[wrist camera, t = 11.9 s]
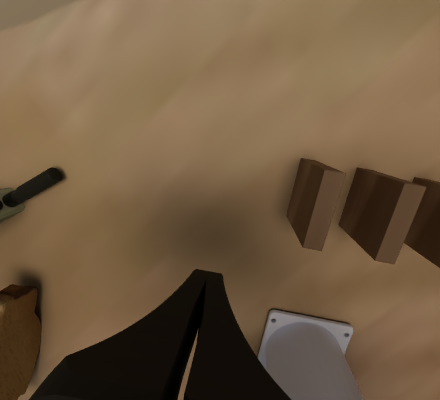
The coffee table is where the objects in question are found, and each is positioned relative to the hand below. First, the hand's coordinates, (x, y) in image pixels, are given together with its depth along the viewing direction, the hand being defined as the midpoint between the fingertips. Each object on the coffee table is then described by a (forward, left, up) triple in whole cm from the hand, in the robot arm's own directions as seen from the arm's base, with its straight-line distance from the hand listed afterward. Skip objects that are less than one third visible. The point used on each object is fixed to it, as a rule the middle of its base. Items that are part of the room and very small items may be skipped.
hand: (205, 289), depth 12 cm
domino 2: (+3, -11, -10) cm, 15 cm away
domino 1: (+3, -6, -10) cm, 13 cm away
